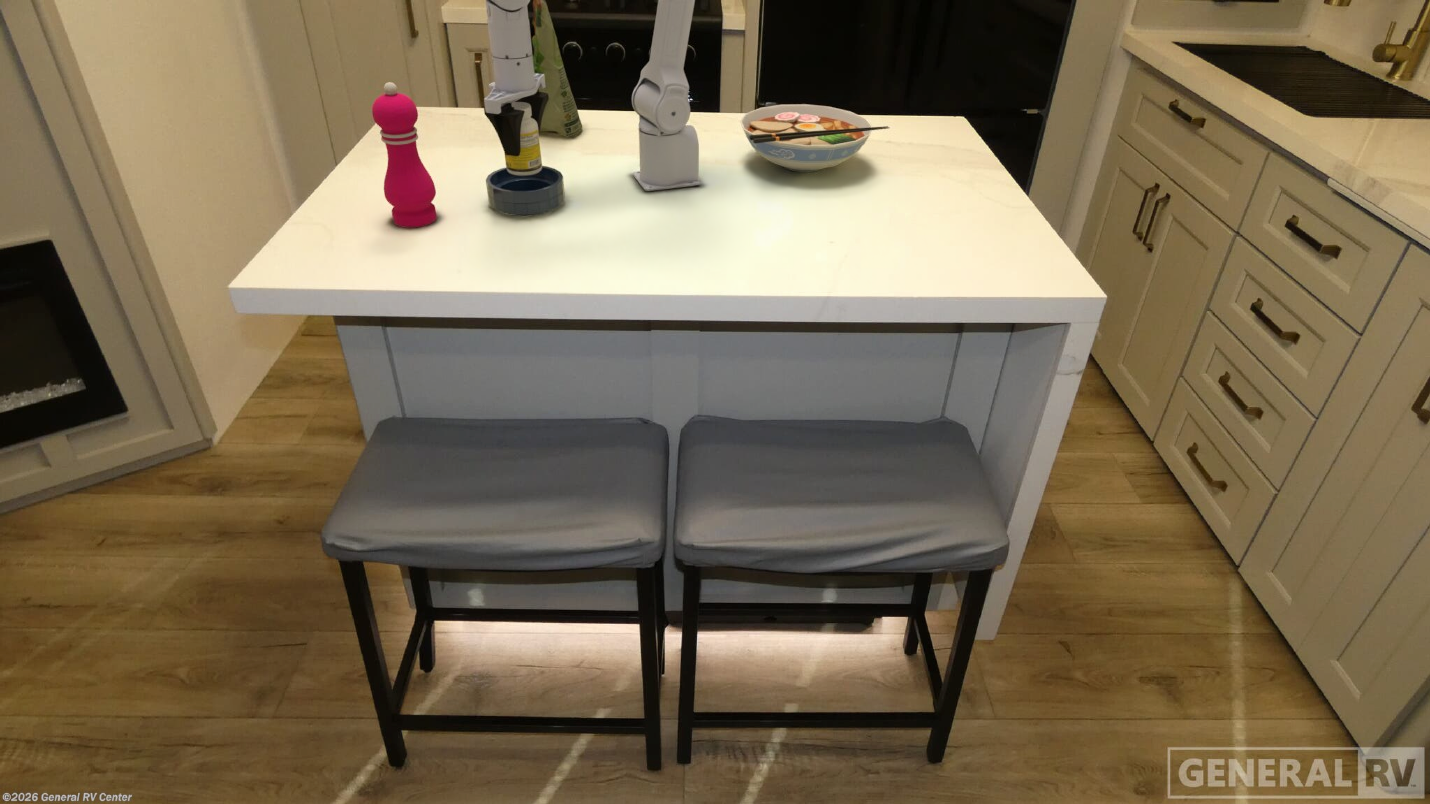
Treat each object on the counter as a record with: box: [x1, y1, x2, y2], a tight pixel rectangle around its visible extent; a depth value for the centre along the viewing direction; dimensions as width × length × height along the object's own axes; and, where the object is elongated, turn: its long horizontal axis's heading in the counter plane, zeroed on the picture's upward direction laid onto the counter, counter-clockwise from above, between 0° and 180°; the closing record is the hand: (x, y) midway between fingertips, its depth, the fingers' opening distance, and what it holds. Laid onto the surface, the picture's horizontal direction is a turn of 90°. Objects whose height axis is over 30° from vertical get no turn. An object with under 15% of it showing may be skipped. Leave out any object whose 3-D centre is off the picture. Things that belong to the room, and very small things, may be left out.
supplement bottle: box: [503, 102, 543, 176], centre depth 130 cm, size 5×5×10 cm
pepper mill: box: [371, 81, 438, 228], centre depth 124 cm, size 7×7×20 cm
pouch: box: [531, 0, 583, 137], centre depth 157 cm, size 11×12×25 cm
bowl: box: [485, 165, 566, 217], centre depth 134 cm, size 12×12×4 cm
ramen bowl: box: [739, 103, 890, 173], centre depth 150 cm, size 25×23×8 cm
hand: (522, 148), depth 130 cm, fingers closed on supplement bottle, 5 cm apart
